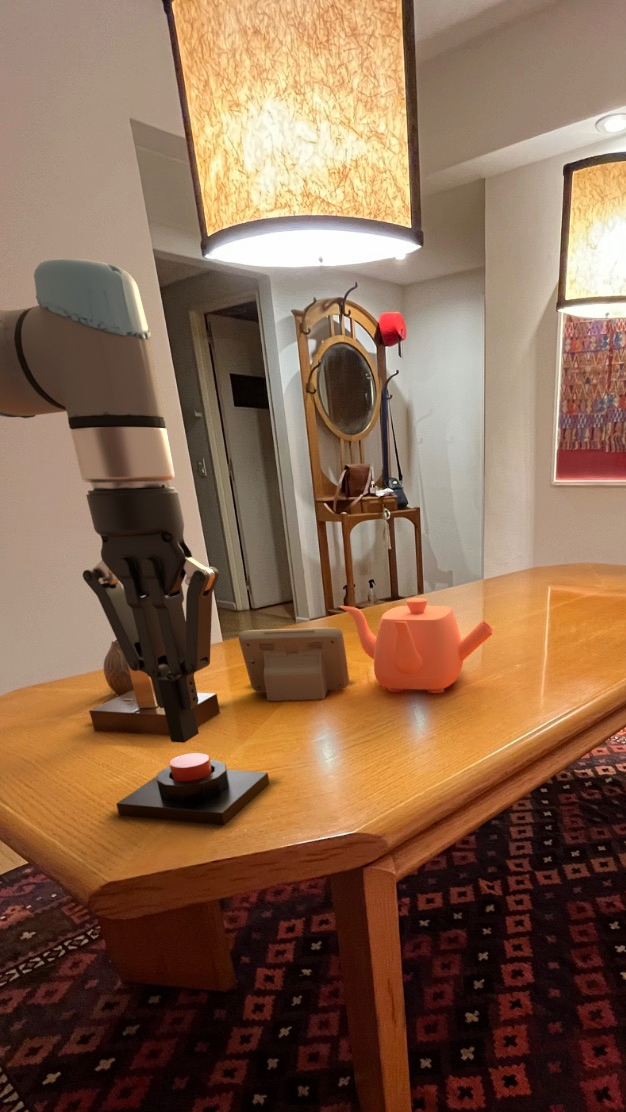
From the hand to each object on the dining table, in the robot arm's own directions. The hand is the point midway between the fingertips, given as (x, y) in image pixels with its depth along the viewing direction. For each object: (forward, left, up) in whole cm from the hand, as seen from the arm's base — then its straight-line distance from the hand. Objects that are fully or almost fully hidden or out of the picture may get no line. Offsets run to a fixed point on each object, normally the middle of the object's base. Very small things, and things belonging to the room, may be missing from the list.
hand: (185, 737), depth 69 cm
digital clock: (-6, +40, -8) cm, 41 cm away
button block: (0, 0, -8) cm, 8 cm away
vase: (-34, +36, -8) cm, 50 cm away
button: (0, 0, -4) cm, 4 cm away
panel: (-21, +24, -8) cm, 33 cm away
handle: (-21, +24, -5) cm, 32 cm away
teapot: (+12, +47, -8) cm, 49 cm away
